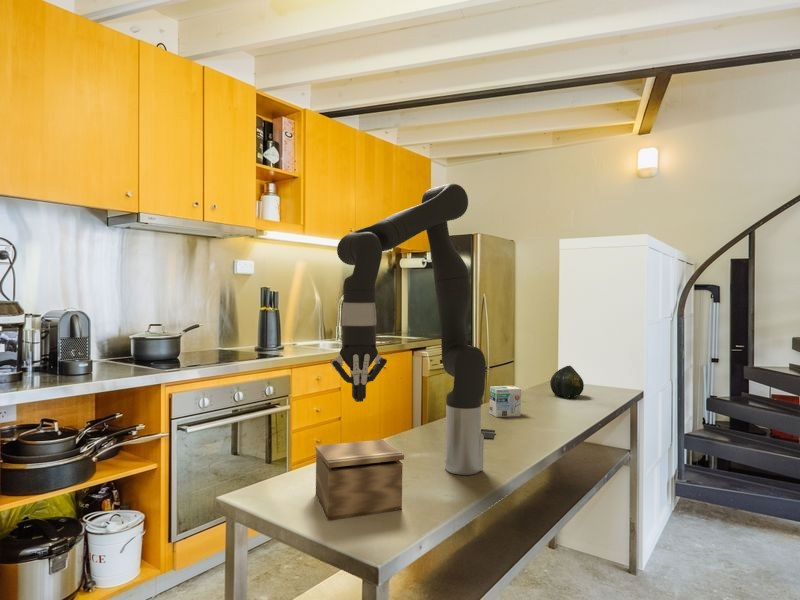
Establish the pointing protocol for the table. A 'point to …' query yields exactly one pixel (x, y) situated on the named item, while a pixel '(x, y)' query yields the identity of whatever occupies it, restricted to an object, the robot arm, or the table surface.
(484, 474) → the table surface
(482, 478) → the table surface
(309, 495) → the table surface
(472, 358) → the robot arm
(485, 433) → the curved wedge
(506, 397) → the light bulb box
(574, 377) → the squash
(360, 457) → the lid
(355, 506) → the brown wooden box
